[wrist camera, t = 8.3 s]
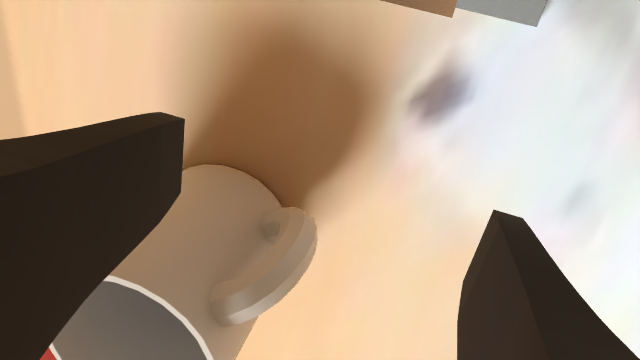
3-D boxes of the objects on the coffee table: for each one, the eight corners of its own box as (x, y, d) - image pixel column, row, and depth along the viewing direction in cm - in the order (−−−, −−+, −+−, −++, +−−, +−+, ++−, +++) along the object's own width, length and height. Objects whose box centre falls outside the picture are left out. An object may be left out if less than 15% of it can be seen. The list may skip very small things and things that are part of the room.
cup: (138, 183, 27) (4, 294, 19) (303, 120, 23) (214, 231, 15) (208, 291, 29) (112, 429, 22) (369, 252, 25) (320, 406, 17)
